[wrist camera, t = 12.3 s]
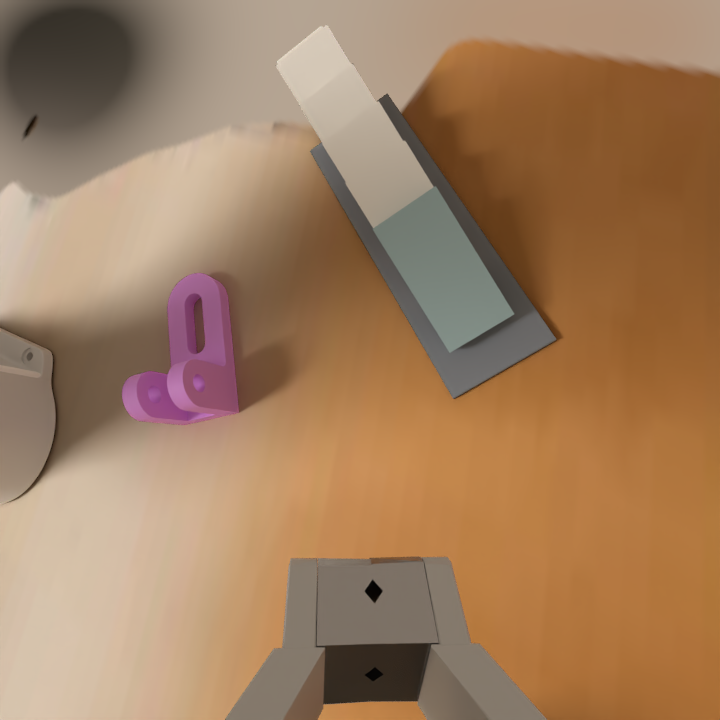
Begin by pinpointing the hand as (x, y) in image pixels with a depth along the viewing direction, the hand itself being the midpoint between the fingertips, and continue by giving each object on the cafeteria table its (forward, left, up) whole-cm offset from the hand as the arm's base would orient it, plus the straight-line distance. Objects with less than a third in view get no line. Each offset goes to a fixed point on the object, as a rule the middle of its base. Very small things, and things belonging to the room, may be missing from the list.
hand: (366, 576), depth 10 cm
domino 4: (-10, +11, -25) cm, 29 cm away
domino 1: (-21, +18, -25) cm, 37 cm away
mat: (-14, +14, -26) cm, 33 cm away
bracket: (-27, -3, -26) cm, 38 cm away
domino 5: (-6, +9, -25) cm, 27 cm away
